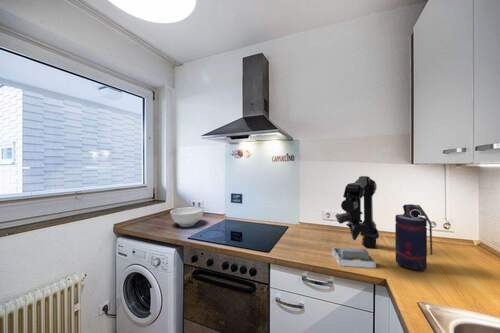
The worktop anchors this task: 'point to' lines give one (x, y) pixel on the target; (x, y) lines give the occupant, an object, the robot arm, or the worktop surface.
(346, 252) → the panel
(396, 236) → the grenade
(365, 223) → the robot arm
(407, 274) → the worktop surface
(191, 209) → the decorative bowl
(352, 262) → the rack
